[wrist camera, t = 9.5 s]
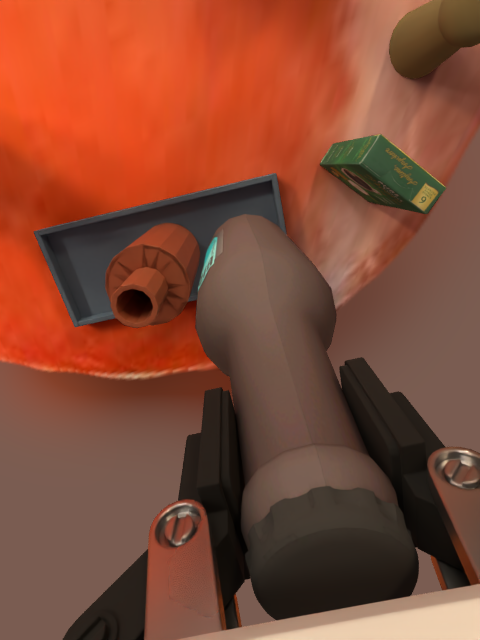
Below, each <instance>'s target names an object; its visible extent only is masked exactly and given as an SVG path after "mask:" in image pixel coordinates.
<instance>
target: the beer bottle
mask: <svg viewBox="0 0 480 640" xmlns="http://www.w3.org/2000/svg"><path fill="white" fill-rule="evenodd" d="M335 323H336V310H335V305H334V300H333V295H332V290H331V287H330V286H329V285H328V283H327V282H326V281H325V279H324V278H323V277H322V275H321V274H320V272H319V271H318V270H317V268H316V267H315V266H314V264H313V263H312V262H311V261H310V260H309V258H308V257H307V256H306V255H305V254H304V253H303V252H302V251H301V250H300V249H299V248H298V247H297V246H296V245H295V244H294V242H293V241H292V240H291V239H290V238H289V237H288V236H287V235H286V234H285V233H284V232H283V231H282V230H281V229H280V228H279V226H278V225H276V224H274V223H273V222H271V221H269V220H267V219H266V218H264V217H262V216H258V215H249V214H243V215H240V216H237V217H233V218H230V219H228V220H227V221H226V222H225V223H224V224H223V225H221V226H220V227H219V228H218V229H217V230H216V232H215V234H214V236H213V238H212V240H211V242H210V244H209V245H208V249H207V251H206V256H205V260H204V265H203V269H202V274H201V278H200V283H199V287H198V292H197V306H196V325H195V328H196V331H197V333H198V336H199V339H200V341H201V344H202V347H203V349H204V352H205V353H206V355H207V357H208V358H209V359H210V360H211V361H212V362H213V363H214V364H215V365H216V366H217V367H218V368H219V369H220V370H221V371H222V372H223V373H224V374H226V375H227V376H229V377H230V380H231V388H232V396H233V403H234V410H235V414H236V420H237V431H238V439H239V446H240V454H241V461H242V468H243V475H244V483H245V488H244V491H243V496H242V503H241V532H242V534H243V537H244V540H245V543H246V545H247V548H248V552H247V553H246V554H245V560H246V563H247V566H248V569H249V572H250V577H251V582H252V587H253V590H254V594H255V596H256V598H257V600H258V602H259V603H260V604H261V606H262V607H263V609H264V610H265V611H266V612H267V613H268V614H269V615H270V616H271V617H273V618H274V619H275V620H283V619H288V618H293V617H299V616H304V615H310V614H315V613H321V612H326V611H332V610H337V609H343V608H348V607H353V606H359V605H365V604H370V603H376V602H381V601H387V600H392V599H398V598H403V597H409V596H410V595H411V594H412V592H413V590H414V588H415V585H416V583H417V579H418V572H419V561H418V554H417V551H416V549H415V546H414V544H413V541H412V538H411V532H410V530H408V529H407V528H406V524H405V520H404V515H403V512H402V511H401V509H400V508H399V507H398V501H397V495H396V492H395V490H394V488H393V486H392V484H391V482H390V479H389V477H388V476H387V475H386V474H385V473H384V472H383V471H382V469H381V468H380V467H379V466H378V465H377V464H376V463H375V461H374V460H373V459H372V458H370V456H369V454H368V451H367V449H366V446H365V444H364V442H363V439H362V437H361V434H360V432H359V429H358V427H357V425H356V422H355V420H354V417H353V415H352V413H351V410H350V408H349V405H348V403H347V401H346V398H345V396H344V393H343V391H342V388H341V386H340V384H339V381H338V379H337V377H336V374H335V372H334V369H333V367H332V364H331V362H330V360H329V357H328V355H327V352H326V351H327V349H328V348H329V346H330V344H331V341H332V337H333V332H334V327H335Z"/></svg>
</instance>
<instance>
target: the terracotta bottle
mask: <svg viewBox="0 0 480 640" xmlns="http://www.w3.org/2000/svg"><path fill="white" fill-rule="evenodd" d="M199 259H200V249H199V245H198V242H197V240H196V238H195V237H194V236H193V234H192V233H191V232H190V231H189V230H187V229H186V228H185V227H183V226H181V225H178V224H174V223H162V224H159V225H155V226H154V227H152V228H151V229H150V230H148V231H147V232H146V233H145V234H143V235H142V236H141V237H139V238H138V239H137V240H135V241H134V242H133V243H132V244H130V245H129V246H128V247H126V248H125V249H124V250H122V251H121V252H120V253H119V254H117V255H116V256H115V257H113V259H112V261H111V263H110V265H109V267H108V268H107V270H106V277H105V289H106V292H107V294H108V297H109V300H110V302H111V309H112V311H113V314H114V316H115V318H116V319H118V320H119V321H120V322H121V323H122V324H123V325H126V326H129V327H133V328H139V327H144V326H148V325H158V324H162V323H167V322H169V321H170V320H172V319H173V318H175V317H176V316H178V315H179V314H180V313H181V312H182V310H183V309H184V307H185V305H186V304H187V302H188V300H189V297H190V293H191V290H192V286H193V283H194V279H195V276H196V272H197V269H198V265H199Z"/></svg>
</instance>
